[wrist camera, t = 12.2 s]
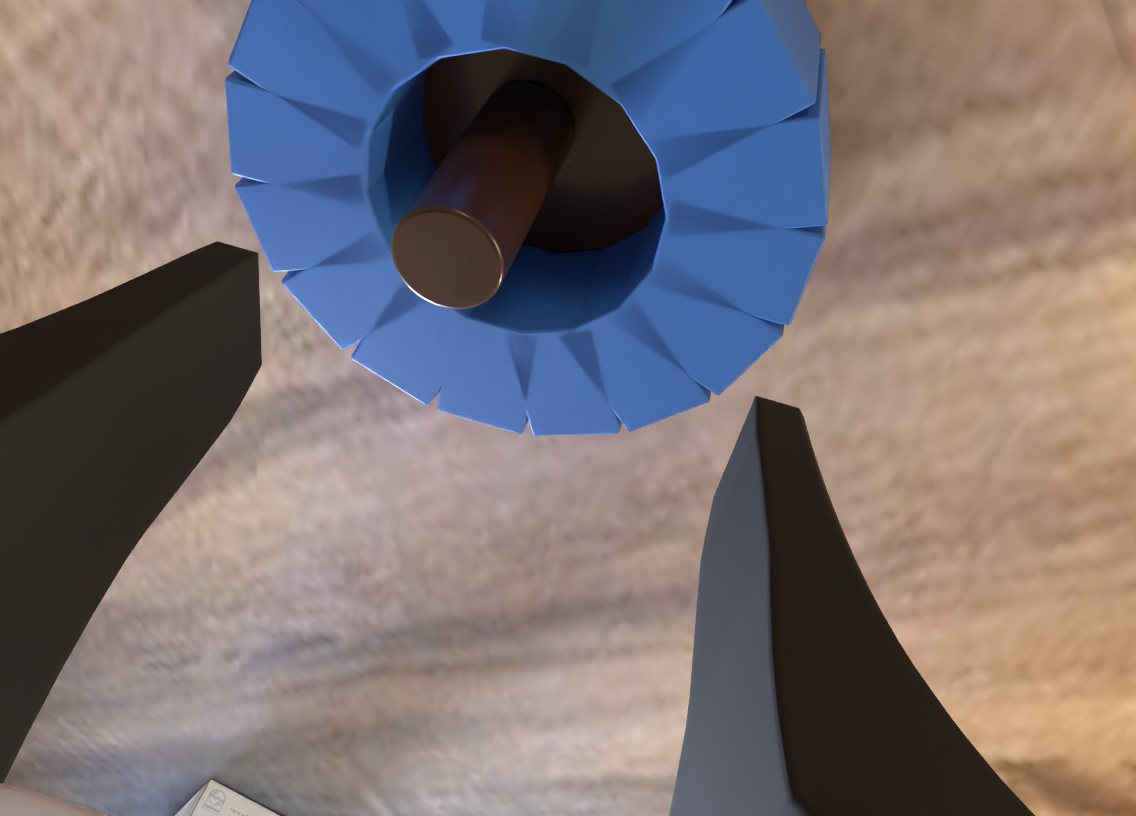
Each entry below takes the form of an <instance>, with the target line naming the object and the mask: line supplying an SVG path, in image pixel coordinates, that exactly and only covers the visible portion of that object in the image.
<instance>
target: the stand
mask: <svg viewBox="0 0 1136 816" xmlns="http://www.w3.org/2000/svg"><path fill="white" fill-rule="evenodd" d="M422 126H423V129H424V132H425V136H426V139H427V142H428V145H429V148H430V151H431V154H432V158H433V161H434V164H435V167H436V171H435V172H434V174H433V175H432V177H431V178H430V179H429V181H428V182H427V183H426V185H425V186H424V188H423V189H422V190H421V192H420V193H419V194H418V196H417V197H416V199H415V200H414V201H413V203H412V204H411V205H410V207H409V208H408V210H407V211H406V212H405V214H404V215H403V216H402V218H401V219H400V221H399V222H398V223H397V225H396V227H395V229H394V231H393V235H392V240H391V253H392V259H393V262H394V265H395V268H396V270H397V272H398V274H399V275H400V277H401V279H402V280H403V281H404V283H405V284H406V285H407V286H408V287H409V288H410V289H411V290H412V291H413V292H414V293H415V294H417V295H418V296H420V297H421V298H423V299H424V300H426V301H428V302H430V303H432V304H434V305H437V306H440V307H444V308H449V309H468V308H472V307H475V306H478V305H480V304H483V303H484V302H486V301H488V300H489V299H490V298H492V297H493V296H494V295H495V293H496V292H497V291H498V289H499V288H500V286H501V284H502V282H503V280H504V278H505V276H506V274H507V273H508V271H509V269H510V267H511V265H512V263H513V261H514V259H515V257H516V255H517V253H518V251H519V249H520V247H521V245H522V244H524V245H528V246H531V247H535V248H539V249H543V250H546V251H550V252H554V253H568V252H580V251H592V250H603V249H605V248H607V247H609V246H611V245H613V244H615V243H617V242H619V241H621V240H623V239H625V238H627V237H629V236H631V235H633V234H635V233H637V232H639V231H641V230H643V229H645V228H646V226H647V225H648V224H649V223H650V222H651V220H652V219H653V218H654V217H655V215H656V214H657V213H658V212H659V211H660V209H661V208H662V207H663V206H664V203H663V198H662V192H661V186H660V180H659V174H658V169H657V163H656V159H655V157H654V156H653V154H652V152H651V151H650V149H649V148H648V146H647V145H646V143H645V141H644V140H643V138H642V137H641V135H640V134H639V132H638V131H637V129H636V127H635V126H634V124H633V123H632V121H631V120H630V118H629V116H628V115H627V113H626V112H625V110H624V109H623V107H622V106H621V105H620V104H619V103H618V102H616V101H615V100H614V99H612V98H611V97H609V96H608V95H607V94H605V93H604V92H603V91H601V90H600V89H598V88H597V87H596V86H594V85H593V84H592V83H590V82H589V81H587V80H586V79H585V78H583V77H582V76H581V75H579V74H578V73H576V72H575V71H574V70H572V69H571V68H570V67H568V66H567V65H565V64H562V63H558V62H555V61H551V60H547V59H543V58H539V57H535V56H531V55H528V54H524V53H520V52H516V51H512V50H508V49H505V48H503V49H496V50H490V51H483V52H477V53H470V54H464V55H457V56H451V57H444V58H441V59H439V60H438V61H436V62H435V63H433V64H432V65H431V66H430V68H429V70H428V71H427V73H426V75H425V88H424V102H423V115H422Z"/></svg>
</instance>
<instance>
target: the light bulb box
mask: <svg viewBox="0 0 1136 816" xmlns="http://www.w3.org/2000/svg"><path fill="white" fill-rule="evenodd" d="M175 816H280V815H278V814H276V813H274V812H272V811H270V810H268V809H266V808H265V807H263V806H261V805H259V804H257V803H255V802H253V801H251V800H249V799H247V798H245V797H243V796H242V795H240V794H238V793H236V792H234V791H232V790H231V789H229V788H227V787H225V786H223V785H221V784H219V783H217V782H216V781H214V780H209V781H208V783H206V784H205V785H204V786H203V787H202V788H201V789H200V790H199V791H198V792H197V793H196V794H195V795H194V796H193V797H192V798H191V799H190V800H189V802H188V803H187V804H186V805H185V806H184V807H183V808H182V809H181V810H180V811H179V812H178V813H177V814H176V815H175Z"/></svg>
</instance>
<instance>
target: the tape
mask: <svg viewBox="0 0 1136 816" xmlns="http://www.w3.org/2000/svg"><path fill="white" fill-rule="evenodd" d="M820 43H821V34H820V32H819V30H818V28H817V26H816V24H815V22H814V20H813V18H812V16H811V14H810V12H809V10H808V8H807V7H806V5H805V3H804V1H803V0H252V1H251V3H250V6H249V9H248V11H247V14H246V17H245V19H244V22H243V25H242V27H241V30H240V32H239V35H238V38H237V40H236V43H235V46H234V48H233V51H232V53H231V56H230V59H229V66H230V67H231V68H232V69H234V70H235V71H234V72H232V73H231V74H230V75H229V76H227V77H226V96H227V111H228V126H229V141H230V156H231V171H232V173H233V174H234V175H238V176H241V177H243V178H242V179H241V180H240V181H239V182H238V183H237V184H236V185H235V188H236V191H237V193H238V195H239V197H240V199H241V202H242V204H243V206H244V208H245V210H246V213H247V215H248V217H249V219H250V221H251V224H252V226H253V228H254V230H255V233H256V235H257V237H258V239H259V241H260V244H261V246H262V248H263V250H264V252H265V255H266V257H267V259H268V261H269V263H270V266H271V268H272V270H273V271H274V272H281V271H289V272H288V273H287V274H286V276H285V277H284V278H283V280H282V284H283V285H284V286H285V287H286V288H287V290H288V291H289V292H290V293H291V294H292V295H293V296H294V297H295V298H296V300H297V301H298V302H299V303H300V304H301V305H302V306H303V307H304V308H305V310H306V311H307V312H308V313H309V314H310V315H311V316H312V317H313V318H314V320H315V321H316V322H317V323H318V324H319V325H320V326H321V327H322V329H323V330H324V331H325V332H326V333H327V334H328V335H329V336H330V337H331V339H332V340H333V341H334V342H335V343H336V344H337V345H338V346H339V347H340V348H341V349H346V348H348V347H350V346H352V345H353V344H355V343H357V342H359V341H361V342H360V343H359V345H358V346H357V348H356V349H355V351H354V353H353V354H352V359H353V360H354V361H356V362H358V363H359V364H361V365H362V366H364V367H366V368H367V369H369V370H370V371H372V372H374V373H375V374H377V375H378V376H380V377H382V378H383V379H385V380H387V381H388V382H390V383H391V384H393V385H395V386H396V387H398V388H399V389H401V390H403V391H404V392H406V393H407V394H409V395H411V396H412V397H414V398H415V399H417V400H419V401H420V402H422V403H423V404H425V405H429V404H430V403H431V401H432V400H433V399H434V397H435V396H436V395H437V393H438V392H439V401H438V410H439V411H441V412H445V413H448V414H452V415H455V416H459V417H462V418H466V419H469V420H473V421H476V422H480V423H483V424H487V425H490V426H494V427H497V428H501V429H505V430H508V431H512V432H515V433H519V434H522V433H523V432H524V430H525V427H526V425H527V422H528V420H529V424H530V427H531V430H532V433H533V435H535V436H540V435H582V434H617V433H619V430H620V427H621V423H623V424H624V426H625V427H626V428H627V429H628V431H630V432H631V431H634V430H636V429H639V428H641V427H644V426H647V425H649V424H652V423H655V422H657V421H660V420H663V419H665V418H668V417H670V416H673V415H676V414H678V413H681V412H684V411H686V410H689V409H692V408H694V407H697V406H699V405H702V404H705V403H707V402H709V401H710V396H711V391H712V392H713V393H715V394H716V395H720V394H721V393H723V392H724V391H725V390H726V389H727V388H728V387H729V386H730V385H731V384H732V383H733V382H734V381H735V380H736V379H737V378H738V377H740V376H741V375H742V374H743V373H744V372H745V371H746V370H747V369H748V368H749V367H750V366H751V365H752V364H753V363H754V362H756V361H757V360H758V359H759V358H760V357H761V356H762V355H763V354H764V353H765V352H766V351H767V350H768V349H769V348H770V347H771V346H773V345H774V344H775V343H776V342H777V341H778V340H779V339H780V338H781V337H782V336H783V329H784V325H787V326H788V325H790V324H791V322H792V320H793V317H794V315H795V312H796V310H797V307H798V305H799V302H800V300H801V297H802V295H803V292H804V290H805V287H806V285H807V282H808V280H809V277H810V275H811V272H812V270H813V267H814V265H815V262H816V260H817V257H818V255H819V252H820V250H821V247H822V245H823V242H824V240H825V226H826V225H827V223H828V206H829V183H830V161H831V136H830V119H829V103H828V86H827V69H826V52H825V49H820ZM503 48H505V49H508V50H512V51H516V52H520V53H524V54H528V55H531V56H535V57H539V58H543V59H547V60H551V61H555V62H558V63H562V64H565V65H567V66H568V67H570V68H571V69H572V70H574V71H575V72H576V73H578V74H579V75H581V76H582V77H583V78H585V79H586V80H587V81H589V82H590V83H592V84H593V85H594V86H596V87H597V88H598V89H600V90H601V91H603V92H604V93H605V94H607V95H608V96H609V97H611V98H612V99H614V100H615V101H616V102H618V103H619V104H620V105H621V106H622V107H623V109H624V110H625V112H626V113H627V115H628V116H629V118H630V120H631V121H632V123H633V124H634V126H635V127H636V129H637V131H638V132H639V134H640V135H641V137H642V138H643V140H644V141H645V143H646V145H647V146H648V148H649V149H650V151H651V152H652V154H653V156H654V157H655V159H656V163H657V169H658V174H659V180H660V186H661V192H662V198H663V203H664V206H663V207H662V208H661V209H660V211H659V212H658V213H657V214H656V215H655V217H654V218H653V219H652V220H651V222H650V223H649V224H648V225H647V226H646V228H645V229H643V230H641V231H639V232H637V233H635V234H633V235H631V236H629V237H627V238H625V239H623V240H621V241H619V242H617V243H615V244H613V245H611V246H609V247H607V248H605V249H603V250H592V251H580V252H568V253H554V252H550V251H546V250H543V249H539V248H535V247H531V246H528V245H524V244H522V245H521V247H520V249H519V251H518V253H517V255H516V257H515V259H514V261H513V263H512V265H511V267H510V269H509V271H508V273H507V274H506V276H505V278H504V280H503V282H502V284H501V286H500V288H499V289H498V291H497V292H496V293H495V295H494V296H493V297H492V298H490V299H489V300H488V301H486V302H484V303H483V304H480V305H478V306H475V307H472V308H468V309H449V308H444V307H440V306H437V305H434V304H432V303H430V302H428V301H426V300H424V299H423V298H421V297H420V296H418V295H417V294H415V293H414V292H413V291H412V290H411V289H410V288H409V287H408V286H407V285H406V284H405V283H404V281H403V280H402V279H401V277H400V275H399V274H398V272H397V270H396V268H395V265H394V262H393V259H392V253H391V240H392V235H393V231H394V229H395V227H396V225H397V223H398V222H399V221H400V219H401V218H402V216H403V215H404V214H405V212H406V211H407V210H408V208H409V207H410V205H411V204H412V203H413V201H414V200H415V199H416V197H417V196H418V194H419V193H420V192H421V190H422V189H423V188H424V186H425V185H426V183H427V182H428V181H429V179H430V178H431V177H432V175H433V174H434V172H435V171H436V167H435V164H434V161H433V158H432V154H431V151H430V148H429V145H428V142H427V139H426V136H425V132H424V129H423V126H422V115H423V102H424V88H425V75H426V73H427V71H428V70H429V68H430V66H431V65H432V64H433V63H435V62H436V61H438V60H439V59H441V58H444V57H451V56H457V55H464V54H470V53H477V52H483V51H490V50H496V49H503Z"/></svg>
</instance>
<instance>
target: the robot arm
mask: <svg viewBox="0 0 1136 816" xmlns="http://www.w3.org/2000/svg"><path fill="white" fill-rule="evenodd" d="M261 365H262V356H261V326H260V296H259V265H258V253H256V252H253V251H249V250H246V249H242V248H239V247H235V246H232V245H228V244H225V243H221V242H218V241H217V242H215V243H212V244H210V245H207V246H205V247H202V248H200V249H198V250H195V251H193V252H191V253H189V254H186V255H184V256H182V257H180V258H178V259H176V260H173V261H171V262H169V263H167V264H165V265H163V266H161V267H158V268H156V269H154V270H152V271H150V272H148V273H146V274H143V275H141V276H139V277H137V278H135V279H132V280H130V281H128V282H126V283H124V284H121V285H119V286H117V287H115V288H113V289H110V290H108V291H106V292H104V293H101V294H99V295H97V296H95V297H93V298H90V299H88V300H86V301H83V302H81V303H78V304H76V305H73V306H71V307H68V308H66V309H63V310H61V311H58V312H56V313H53V314H51V315H48V316H46V317H43V318H41V319H38V320H36V321H33V322H31V323H28V324H26V325H23V326H21V327H18V328H15V329H13V330H10V331H7V332H4V333H1V334H0V816H112V815H109V814H105V813H102V812H99V811H96V810H93V809H90V808H86V807H83V806H80V805H77V804H74V803H71V802H67V801H64V800H61V799H58V798H55V797H52V796H48V795H45V794H42V793H39V792H36V791H33V790H29V789H26V788H22V787H17V786H11V785H6V784H3V782H4V780H5V778H6V776H7V774H8V772H9V770H10V768H11V766H12V764H13V762H14V760H15V758H16V756H17V754H18V752H19V750H20V748H21V746H22V744H23V742H24V739H25V737H26V735H27V734H28V732H29V730H30V728H31V726H32V724H33V722H34V720H35V718H36V717H37V715H38V713H39V711H40V709H41V707H42V705H43V703H44V701H45V700H46V698H47V696H48V694H49V692H50V690H51V688H52V686H53V684H54V683H55V681H56V679H57V677H58V675H59V673H60V671H61V669H62V668H63V666H64V664H65V662H66V661H67V659H68V657H69V655H70V654H71V652H72V650H73V648H74V647H75V645H76V643H77V641H78V640H79V638H80V636H81V634H82V633H83V631H84V629H85V627H86V625H87V624H88V622H89V620H90V618H91V617H92V615H93V613H94V611H95V610H96V608H97V606H98V605H99V603H100V602H101V600H102V598H103V597H104V595H105V593H106V592H107V590H108V588H109V587H110V585H111V583H112V582H113V580H114V578H115V577H116V575H117V574H118V572H119V570H120V569H121V567H122V565H123V564H124V562H125V560H126V559H127V557H128V556H129V554H130V553H131V551H132V550H133V549H134V547H135V546H136V544H137V543H138V541H139V540H140V539H141V537H142V536H143V534H144V533H145V532H146V530H147V529H148V528H149V526H150V525H151V524H152V523H153V521H154V520H155V519H156V517H157V516H158V515H159V513H160V512H161V511H162V510H163V508H164V507H165V506H166V504H167V503H168V502H169V501H170V499H171V498H172V497H173V495H174V494H175V493H176V491H177V490H178V489H179V488H180V486H181V485H182V484H183V482H184V481H185V480H186V479H187V477H188V476H189V475H190V473H191V472H192V471H193V470H194V468H195V467H196V466H197V464H198V463H199V462H200V460H201V459H202V458H203V457H204V455H205V454H206V453H207V451H208V450H209V449H210V447H211V446H212V445H213V443H214V442H215V441H216V439H217V438H218V437H219V435H220V434H221V433H222V431H223V430H224V429H225V427H226V426H227V425H228V423H229V422H230V421H231V419H232V417H233V416H234V414H235V412H236V410H237V409H238V407H239V405H240V404H241V402H242V400H243V398H244V397H245V395H246V393H247V391H248V389H249V387H250V386H251V384H252V382H253V380H254V378H255V376H256V374H257V373H258V371H259V369H260V367H261ZM669 816H1035V815H1034V814H1033V813H1032V812H1031V811H1030V810H1029V809H1028V808H1027V807H1026V806H1025V805H1024V803H1023V802H1022V801H1021V800H1020V799H1019V798H1018V797H1017V796H1016V795H1015V794H1014V793H1013V792H1012V791H1011V790H1010V788H1009V787H1008V786H1007V785H1006V784H1005V783H1004V782H1003V781H1002V780H1001V779H1000V777H999V776H998V775H997V774H996V773H995V772H994V770H993V769H992V768H991V767H990V766H989V764H988V763H987V762H986V761H985V759H984V758H983V757H982V756H981V755H980V753H979V752H978V751H977V750H976V749H975V747H974V746H973V745H972V744H971V742H970V741H969V740H968V739H967V738H966V736H965V735H964V734H963V733H962V731H961V730H960V729H959V727H958V726H957V725H956V723H955V722H954V721H953V720H952V718H951V717H950V716H949V714H948V713H947V712H946V710H945V709H944V707H943V706H942V705H941V703H940V702H939V700H938V699H937V697H936V696H935V695H934V693H933V692H932V690H931V689H930V688H929V686H928V685H927V683H926V682H925V681H924V679H923V678H922V676H921V675H920V673H919V672H918V671H917V669H916V668H915V666H914V665H913V663H912V662H911V660H910V659H909V657H908V655H907V654H906V652H905V651H904V649H903V648H902V646H901V644H900V643H899V641H898V639H897V638H896V636H895V634H894V632H893V631H892V629H891V627H890V626H889V624H888V622H887V620H886V619H885V617H884V615H883V613H882V611H881V610H880V608H879V606H878V604H877V602H876V600H875V598H874V596H873V594H872V593H871V591H870V589H869V587H868V585H867V583H866V581H865V579H864V576H863V574H862V572H861V570H860V568H859V566H858V564H857V562H856V560H855V558H854V555H853V553H852V551H851V549H850V546H849V544H848V542H847V539H846V537H845V535H844V532H843V530H842V527H841V525H840V522H839V520H838V517H837V515H836V512H835V510H834V507H833V505H832V502H831V500H830V497H829V495H828V492H827V489H826V486H825V484H824V481H823V478H822V475H821V472H820V469H819V466H818V463H817V460H816V457H815V454H814V451H813V447H812V444H811V441H810V437H809V434H808V431H807V427H806V423H805V420H804V416H803V415H802V413H801V411H800V409H799V408H796V407H793V406H789V405H786V404H782V403H779V402H775V401H772V400H768V399H765V398H761V397H758V396H755V399H754V401H753V404H752V406H751V408H750V411H749V413H748V416H747V418H746V420H745V423H744V425H743V428H742V430H741V432H740V435H739V437H738V440H737V442H736V444H735V447H734V449H733V452H732V454H731V456H730V459H729V461H728V464H727V466H726V468H725V471H724V473H723V476H722V478H721V481H720V483H719V485H718V488H717V490H716V493H715V495H714V498H713V503H712V507H711V512H710V517H709V522H708V526H707V531H706V536H705V541H704V546H703V551H702V556H701V564H700V575H699V587H698V599H697V611H696V624H695V637H694V650H693V662H692V675H691V688H690V699H689V707H688V715H687V723H686V730H685V735H684V741H683V746H682V751H681V757H680V762H679V768H678V773H677V779H676V784H675V789H674V794H673V800H672V805H671V810H670V815H669Z"/></svg>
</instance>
